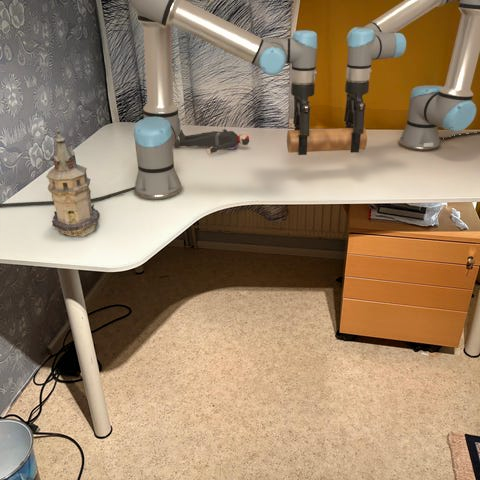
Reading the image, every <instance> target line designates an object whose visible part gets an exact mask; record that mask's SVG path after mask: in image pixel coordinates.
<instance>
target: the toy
mask: <svg viewBox="0 0 480 480" xmlns="http://www.w3.org/2000/svg"><path fill="white" fill-rule="evenodd" d="M249 143H250V136H249V135H247V134H239V135H238V134H237V133H236V132H234V131H233V130H227V129H226V128H222V129H221V131H217V130H216V131H215V130H213V131H206V132H201V133H195V134H189V135H185V133H184V132H183V129H181V131H180V134H179V136H178V138H177V140H176V141H175V144H174V146H173V148H174V149H177V148H180V147H187V148H189V147H200V148H201V147H209V148H207V149H206V153H207V154H214V153H217V152H218V151H222V150H226V149H227V150H234V149H237V147H238V146H239V144H240V145H242V146H247V145H248V144H249Z"/></svg>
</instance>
